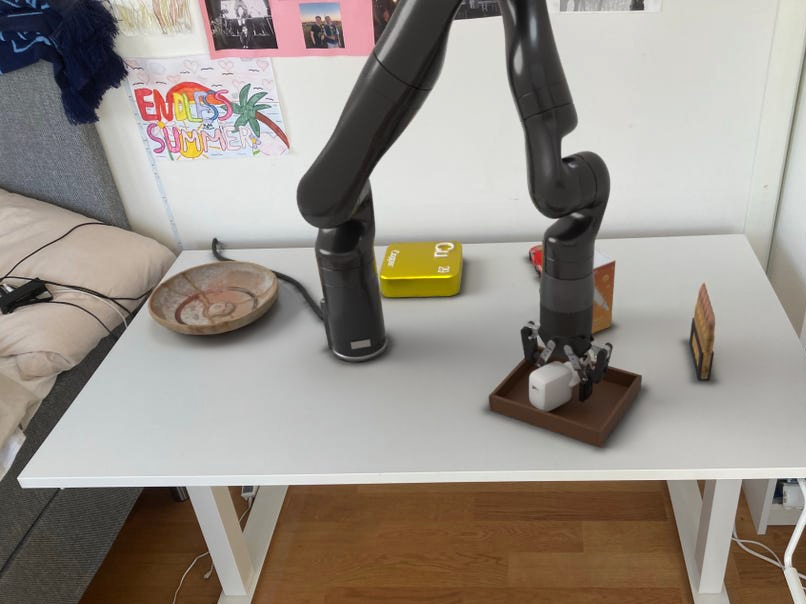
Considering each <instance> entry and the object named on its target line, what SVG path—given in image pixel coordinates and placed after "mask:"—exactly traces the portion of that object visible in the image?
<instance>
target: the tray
mask: <svg viewBox="0 0 806 604" xmlns="http://www.w3.org/2000/svg"><path fill="white" fill-rule="evenodd" d="M538 347H539V353H540V354H541V353H542V352H543V350H544V348H545V346H541V345H538ZM580 359H581V358H580ZM580 359H579V360H580ZM554 361H559V362H561V363H562V364H564V363H566V362H568V361H566V360H564V359H562V358H555V357H553V356H552V357H551V359H550V360H549V363H551V362H554ZM595 363H596V361H593V360H591V364H592V366H593V367H594V366H595ZM535 370H537V368H536V366H535V364H533V363H532V362H531V363H527V362H526V361H525V357H523V359H522V360H521V361H520V362H519V363H518V364H516V366H515V367H514V368H513V369H512V370H511V371H510V372H509V374H507V376H506V377H505V378H504V379H503V380H502V381H501V382H500V383H499V384H498V385H497V386H496V387H495V388H494V390H493V391H491V393H490V394H489V395H488V402H489V403H488V405H489V406H488V408H489V411H491V412H494V413H496V414H500V415H503V416H505V417H509V418H510V419H513V420H514V419H515V420H518V421H520V422H523V423H526V424H529V425H532V426H535V427H537V428H540V429H544V430H547V431H550V432H552V433H556V434H559V435H562V436H565V437H568V438H571V439H574V440H576V441H579V442H582V443H586V444H589V445H592V446H594V447H597V448H599V449H600V448H601V449H602V446H603V445H604V444H605V442H606V441H607V440H608V438H609V437H610V435H611V433H613V430H614V429H615V428H616V427H617V425H618V424H619V422H620V421H621V419H622V418H623V416H624V415H625V414H626V413H627V410H628V409H629V408H630V406H631V405H632V403H633V402H635V401H634V400H636V398H637V396H638V395H639V393H640V392H641V390H642V381H643V375H642V374H639V373H635V372H632V371H628V370H625V369H621V368H618V367H614V366H611V365H608V368H607V372H606V375H605V376H604V377H603V378H602V380H601V381H600V382H599V383H598V384H595V383H594V382H593V393H592V394H591V396H590V397H589V398H588V399H587V400H585V401H584V402H581V401H579V384H578V385H577V386H575V387H573V388H572V397H571V398H570V400H569V401H567V402H566V403H564V404H562V405H560V406H558V407H556V408H555V409H553V410H551V411H548V412H545V411H542V410H539V409H537V408H536V407H535V406H534V405H532V404H531V402H530V400H529V376H530V374H531V373H532V372H533V371H535Z"/></svg>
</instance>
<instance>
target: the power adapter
mask: <svg viewBox="0 0 806 604" xmlns="http://www.w3.org/2000/svg"><path fill="white" fill-rule="evenodd" d="M594 368H595V366H594V367H593V369H594ZM580 381H581V380H580V378H579V375H578V373H577V371H574V369H573V367H572V364H571V362H566V363H564V364H562V363H561V362H559V361H554V362H551V363H549V364H547V365H545V366H543V367H541V368H539V369H537V370H535V371H533V372H532V373H531V374H530V376H529V400H530V402H531V404H532V405H534V406H535V407H536V408H537V409H539V410H542V411H545V412H548V411H551V410H553V409H555V408H556V407H558V406H560V405H562V404H564V403H566V402H567V401H569V400H570V398H571V397H572V388H573V387H575V386H577V385H578V384H579V382H580Z"/></svg>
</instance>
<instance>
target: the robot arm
mask: <svg viewBox="0 0 806 604" xmlns="http://www.w3.org/2000/svg"><path fill="white" fill-rule="evenodd" d="M464 1H465V0H399V1H398V3H397V5H396V7H395V8H394V11H393V12H392V14H391V16H390V18H389V20H388V22H387V24H386V25H385V28H384V29H383V31H382V33H381V35H380V36H379V38H378V39H377V41H376V43H375V45H374V46H373V48H372V49H371V52H370V53H369V55H368V58H367V59H366V61H365V63H364V65H363V66H362V69H361V71H360V73H359V75H358V76H357V79H356V81H355V83H354V85H353V87H352V90H351V92H350V94H349V96H348V97H347V99H346V102H345V104H344V106H343V109H342V111H341V113H340V115H339V119H338V120H337V122H336V125H335V128H334V130H333V131H332V133H331V135H330V137H329V139H328V140H327V142H326V144H325V145H324V147H322V149H321V151H320V152H319V154H318V155H317V157H316V158H315V159H314V161H313V162H312V163H311V165H310V166H309V168H308V169H307V171H306V172H305V173H304V174H303V175H302V177H301V178H300V179H299V181H298V184H297V187H296V195H295V196H296V197H295V198H296V199H295V200H296V205H297V208H298V211H299V213H300V215H301V217H302V218H303V219H304V221H305V222H306V223H308V224H309V225H310V226H312V227H314V228H317V229H318V231H317V235H316V237H315V238H316V239H315V242H314V254H315V260H316V266H317V270H318V275H319V280H320V287H321V292H322V297H323V298H321V299H320V301H319V305H320V308H319V306H318V304H317V303H316V302H315V301H314V300H313V298H312V297H311V295H310V294H309V292H308V291H307V289H306V288H305V286H303V285H302V284H301V283H300V282H299V281H297V280H296V279H295V278H293V277H291V276H289V275H287V274H284V273H282V272H279V271H276V270H273V269H270V268H268V269H269V270H271V271H272V272H273V273H274V274H275V276H276V277H277V278H280V279H283V280H284V281H287V282H289V283H291V284H293V285H294V286H295V287H296V288H298V290H299V291H300V292H301V294H302V295H303V297H304V298H305V300H306V301H307V302H308V304H309V305H310V306H311V308H312V309H313V312H315V314H316V315H317V316H318V318H319V319H320V320H321V321H323V326H324V331H325V336H326V341H327V348H328V349H329V350H331V351H332V352H333V355H334V356H335V357H336V358H337V359H338V360H339V359H340V360H342V361H344V362H350V363H357V362H366V361H369V360H372V359H375V358H377V357H379V356H381V355H382V354H383V353H384V352H386V350H387V348H388V343H389V342H388V336H387V332H386V326H385V315H384V310H383V304H382V295H381V286H380V279H379V273H378V267H377V259H376V252H375V239H376V229H377V228H376V219H375V218H376V215H375V208H374V198H373V197H374V196H373V190H372V189H373V188H372V183H371V180H370V177H371V175H372V174H373V172H374V170H375V168H376V167H377V165H378V163H379V162H380V161H381V160H382V158H383V157H384V156H385V155H386V154H387V153H388V151H389V150H390V149H391V147H392V146H393V145H394V144H395V143H396V142H397V141H398V139H399V138H400V137H401V136H402V135H403V133H404V132H405V131H406V129H407V128H408V127H409V125H410V124H411V123H412V122H413V120H414V119H415V117H416V116H417V115H418V114H419V112H420V110H421V109H422V107H423V106H424V104H425V102H426V101H427V100H428V97H429V96H430V94H431V93H432V91H433V89H435V86H436V85H437V82H438V81H439V79H440V77H441V74H442V73H443V72H442V71H443V69H444V65H445V61H446V57H447V51H448V46H449V38H450V33H451V30H452V26H453V22H454V20H455V18H456V16H457V13H458V12H459V10H460V8H461V6H462V5H463V3H464ZM496 2H497V3H498V6H499V11H500V13H501V19H502V24H503V32H504V33H503V34H504V46H505V47H504V51H505V54H504V55H505V69H506V77H507V83H508V87H509V91H510V94H511V98H512V102H513V104H514V107H515V111H516V113H517V116H518V119H519V122H520V126H521V129H522V132H523V138H524V139H523V140H524V154H525V167H526V168H525V170H526V185H527V191H528V195H529V197H530V200H531V203H532V204H533V206H534V207H535V209H536V210H537V212H539V213H540V214H541V215H542V216H543V217H545V218H548V219H550V220H556V221H555V222H553V223H552V224H551V225H550V226H548V227H547V228H546V229H545V231H544V233H543V234H542V241H541V245H542V272H541V278H539V289H538V292H539V324H535V322H534V321H533V320H529V321H528V322H527V323H525V325H523V326H522V328H521V329H520V331H519V332H520V337H521V343H522V350H523V358H525V361H526V362H527V363H531V362H532V363H533V364H535V366H536V368H537V369H539V368H541V367H543V366H545V365H547V364H549V360H550V359H551V357H552V356H553V357H555V358H562V359H564V360H566V361H568V362H571V364H572V367H573V369H574V371H577V373H578V375H579V378H580V380H581V381H580V382H579V401H581V402H584V401H585V400H587V399H588V398H589V397H590V396H591V394H592V393H593V382H594V383H595V384H598V383H599V382H600V381H601V380H602V378H603V377H604V376H605V375H606V372H607V368H608V366H609V365H610V364H609V363H610V359H611V356H612V353H613V348H614V347H613V344H612V343H611V342H608V341H607V342H605V343H604V344H603V343H600V342H598V341H596V340H595V336H594V335H593V334H592V325H593V308H594V288H595V280H594V250H595V249H596V247H595V246H596V245H595V244H596V240H597V236H598V234H599V231H600V230H601V229H600V228H601V225H602V222H603V219H604V216H605V213H606V209H607V206H608V203H609V198H610V195H611V176H610V175H611V174H610V171H609V168H608V166H607V163H606V162H605V160H604V159H603V158H602V157H601V156H600V155H599V154H598V153H596V152H593V151H591V150H582V151H578V152H574V153H572V154H569V155H567V156H563V157H562V142H563V139H564V138H565V137H567V136H568V135H570V134H571V133H572V132H573V131H575V130H576V128H577V127H578V125H579V117H578V112H577V109H576V106H575V103H574V99H573V96H572V93H571V89H570V86H569V83H568V79H567V77H566V73H565V70H564V66H563V63H562V60H561V56H560V54H559V53H560V52H559V50H558V47H557V42H556V39H555V35H554V31H553V27H552V23H551V18H550V13H549V9H548V3H547V0H496ZM218 242H219V241H218V238H217V237H214V238H213V239H212V242H211V251H212V254H213V257H215V258H216V259H217V260H219V261H220V262H222V261H236V260H235V259H231V258H227V257H225V256H223V255H220V254H219V252H218V251H217V243H218ZM538 337H539V339H540V340H541V342H542V343H543V345H544V350H543V352H542V353H541V354H540V353H539V347H538V346H539V341H538ZM590 350H591V351H592V352H593V358H594V360H595V362H596V363H595V368H594V369H593V366H592V364H591V361H592V357H591V354H590ZM580 358H581V359H580ZM579 359H580V360H579Z"/></svg>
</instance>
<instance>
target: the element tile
mask: <svg viewBox="0 0 806 604" xmlns="http://www.w3.org/2000/svg"><path fill="white" fill-rule="evenodd" d="M463 265H464V254H463V245H462V243H460V242H459V241H457V240H456V241H455V240H454V241H453V240H447V241H445V240H444V241H413V242H412V241H409V242H407V241H405V242H393V243H390V244H389V245H388V246H387V247H386V249H385V253H384V256H383V260H382V264H381V267H380V271H379V273H378V278H379V285H380V292H381V294H382V295H383V296H384V297H386V298H393V299H394V298H426V297H427V298H430V297H434V298H435V297H452V296H455V295H457V294H458V293H459V292H460V290H461V286H462V285H461V283H462V276H463Z"/></svg>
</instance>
